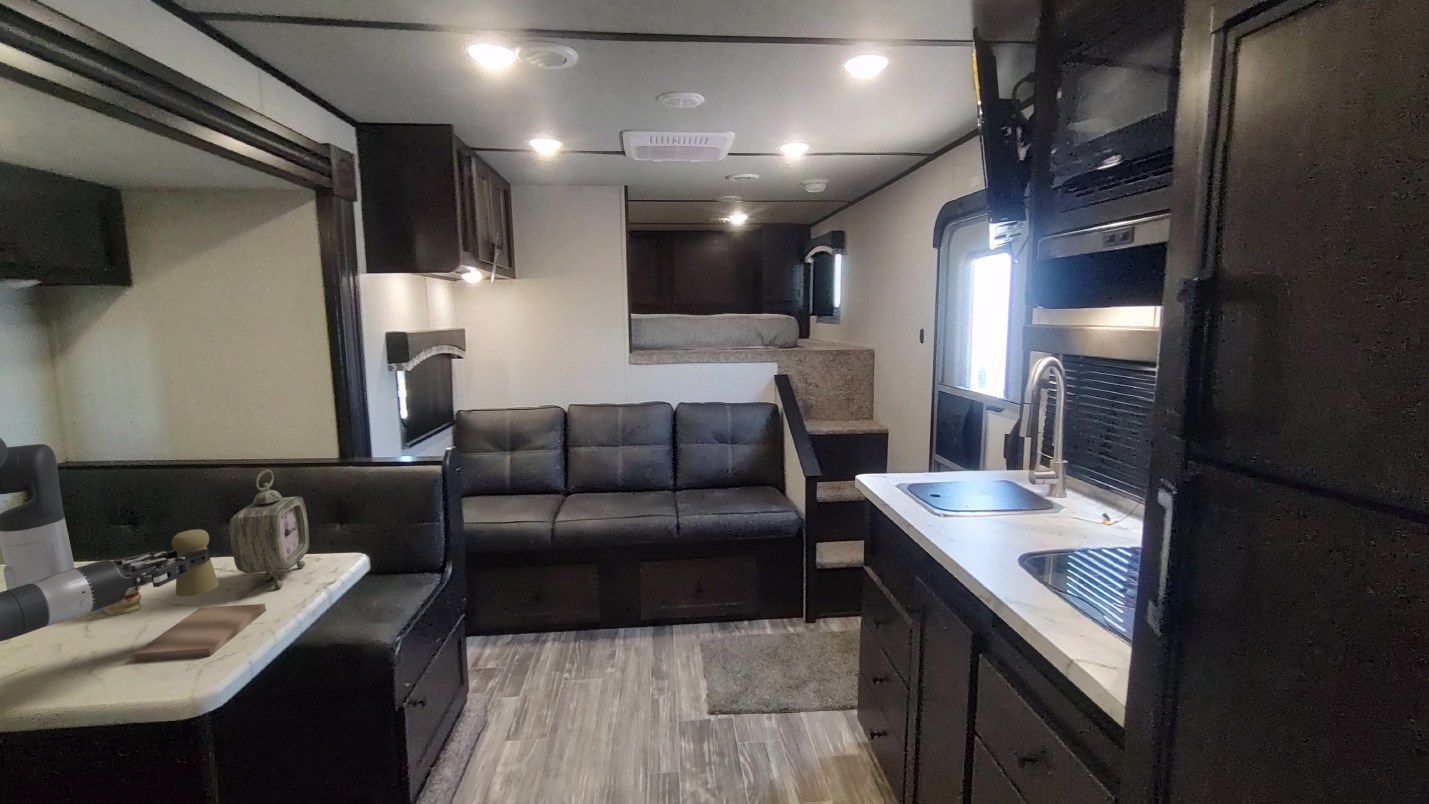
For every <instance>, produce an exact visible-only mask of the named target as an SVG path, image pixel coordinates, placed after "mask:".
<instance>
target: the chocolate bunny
mask: <svg viewBox="0 0 1429 804" xmlns="http://www.w3.org/2000/svg"><path fill="white" fill-rule="evenodd" d="M140 590H141V587H138V588H135V587H133V588H129V589H128V590H127V592H126V594H125V597H124V599H123V600H122V601H121V602H119V603H117V604H114V605H111V606H108V607H105V608H102V610H103V612H104V614H108V615H111V616H118V615H117V614H120V615H127V613H128V614H132V613H135V612H138V611H139V610H141V608H142V605H141V603H140V601H141V599H142V595H141V593H140V592H139V591H140ZM134 611H135V612H134ZM131 612H132V613H131Z"/></svg>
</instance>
